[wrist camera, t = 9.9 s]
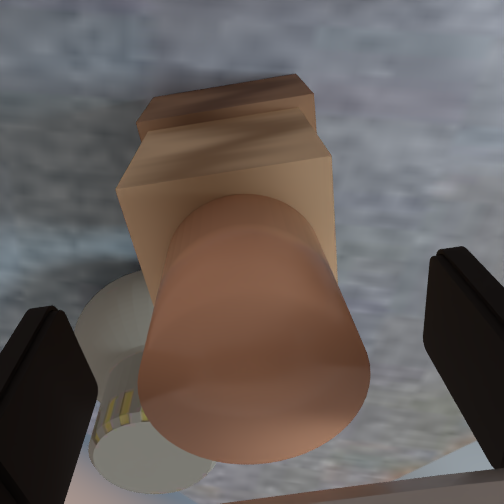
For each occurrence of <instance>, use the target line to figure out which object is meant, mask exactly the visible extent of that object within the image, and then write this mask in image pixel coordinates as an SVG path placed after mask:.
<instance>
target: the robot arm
mask: <svg viewBox="0 0 504 504" xmlns="http://www.w3.org/2000/svg"><path fill="white" fill-rule="evenodd" d="M423 342H424V346H425V349H426V351H427V353H428V355H429V357H430V358H431V360H432V362H433V364H434V365H435V367H436V369H437V371H438V373H439V374H440V376H441V378H442V380H443V381H444V383H445V385H446V387H447V388H448V390H449V392H450V394H451V395H452V397H453V399H454V401H455V402H456V404H457V406H458V408H459V409H460V411H461V413H462V415H463V417H464V418H465V420H466V422H467V424H468V425H469V427H470V429H471V431H472V432H473V434H474V436H475V438H476V439H477V441H478V443H479V445H480V446H481V448H482V450H483V452H484V453H485V455H486V457H487V459H488V460H489V462H490V464H491V465H492V466H493V468H494V469H492V470H483V471H475V472H465V473H456V474H447V475H438V476H430V477H422V478H414V479H407V480H399V481H391V482H383V483H375V484H367V485H359V486H352V487H344V488H336V489H328V490H320V491H313V492H305V493H298V494H290V495H283V496H275V497H267V498H260V499H252V500H245V501H237V502H230V503H222V504H504V287H503V286H502V285H501V284H500V283H499V282H498V281H497V280H496V279H495V278H494V277H493V276H492V275H491V274H490V273H489V272H488V270H487V269H486V268H485V267H484V266H483V265H482V264H481V263H480V262H479V261H478V260H477V259H476V258H475V257H474V256H473V255H472V254H471V253H470V252H469V251H468V250H467V249H466V248H465V247H463V246H460V247H453V248H446V249H440V250H438V252H437V254H436V256H432V257H431V259H430V263H429V275H428V286H427V297H426V308H425V319H424V331H423ZM97 397H98V385H97V382H96V379H95V377H94V375H93V373H92V371H91V369H90V366H89V364H88V362H87V360H86V358H85V356H84V353H83V351H82V349H81V347H80V345H79V343H78V340H77V338H76V336H75V334H74V332H73V330H72V327H71V325H70V323H69V321H68V319H67V316H66V314H65V313H64V312H63V311H62V310H58V309H57V308H56V307H55V306H46V307H39V308H32V309H29V310H28V311H27V312H26V313H25V315H24V317H23V318H22V320H21V321H20V323H19V325H18V326H17V328H16V329H15V331H14V333H13V334H12V336H11V337H10V339H9V340H8V342H7V344H6V345H5V347H4V348H3V350H2V352H1V353H0V504H64V501H65V498H66V495H67V492H68V489H69V486H70V482H71V479H72V476H73V473H74V470H75V466H76V463H77V460H78V457H79V454H80V451H81V448H82V444H83V441H84V438H85V435H86V432H87V429H88V425H89V422H90V419H91V416H92V413H93V410H94V406H95V403H96V400H97Z"/></svg>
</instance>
